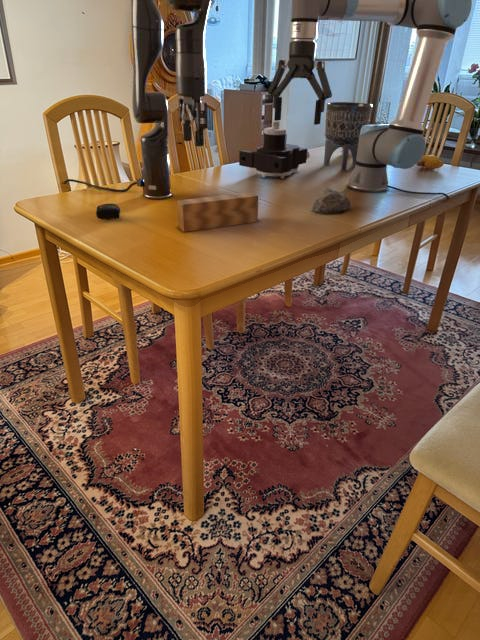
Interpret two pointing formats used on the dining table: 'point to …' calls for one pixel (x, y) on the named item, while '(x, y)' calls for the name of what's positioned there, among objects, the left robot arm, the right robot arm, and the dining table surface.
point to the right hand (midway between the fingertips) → (296, 122)
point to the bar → (217, 211)
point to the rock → (331, 202)
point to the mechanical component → (274, 154)
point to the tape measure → (108, 211)
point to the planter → (345, 128)
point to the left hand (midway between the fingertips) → (193, 143)
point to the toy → (430, 162)
